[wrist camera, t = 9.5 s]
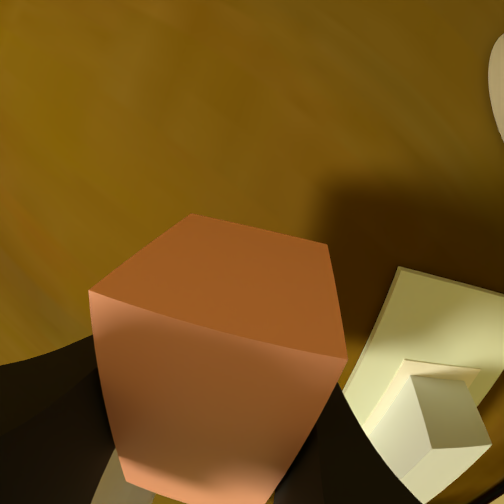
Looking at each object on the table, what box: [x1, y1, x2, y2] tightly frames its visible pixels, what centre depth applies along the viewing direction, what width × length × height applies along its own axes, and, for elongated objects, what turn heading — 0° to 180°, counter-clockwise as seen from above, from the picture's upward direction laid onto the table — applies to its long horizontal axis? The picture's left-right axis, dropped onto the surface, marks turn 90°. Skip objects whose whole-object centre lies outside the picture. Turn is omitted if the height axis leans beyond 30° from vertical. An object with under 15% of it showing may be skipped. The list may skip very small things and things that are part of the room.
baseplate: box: [342, 266, 504, 437], centre depth 15 cm, size 18×10×1 cm, turn 169°
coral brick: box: [89, 213, 348, 504], centre depth 8 cm, size 7×4×5 cm, turn 169°
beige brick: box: [368, 375, 492, 504], centre depth 13 cm, size 7×4×5 cm, turn 169°
